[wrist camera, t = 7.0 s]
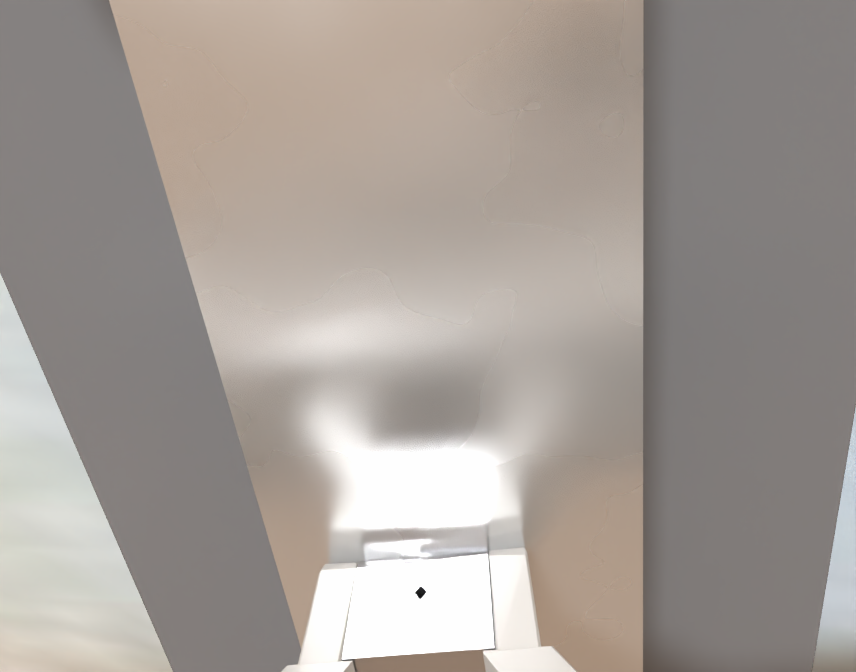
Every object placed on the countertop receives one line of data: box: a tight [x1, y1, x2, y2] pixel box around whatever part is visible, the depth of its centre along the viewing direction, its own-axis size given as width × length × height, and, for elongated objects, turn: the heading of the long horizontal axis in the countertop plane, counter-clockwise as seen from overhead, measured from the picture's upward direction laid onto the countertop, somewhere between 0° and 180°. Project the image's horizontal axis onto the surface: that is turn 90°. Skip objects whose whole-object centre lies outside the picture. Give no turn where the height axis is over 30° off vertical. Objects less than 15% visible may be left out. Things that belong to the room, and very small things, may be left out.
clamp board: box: [0, 0, 856, 672], centre depth 9 cm, size 12×20×5 cm, turn 8°
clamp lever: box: [109, 0, 643, 672], centre depth 8 cm, size 5×17×2 cm, turn 7°
